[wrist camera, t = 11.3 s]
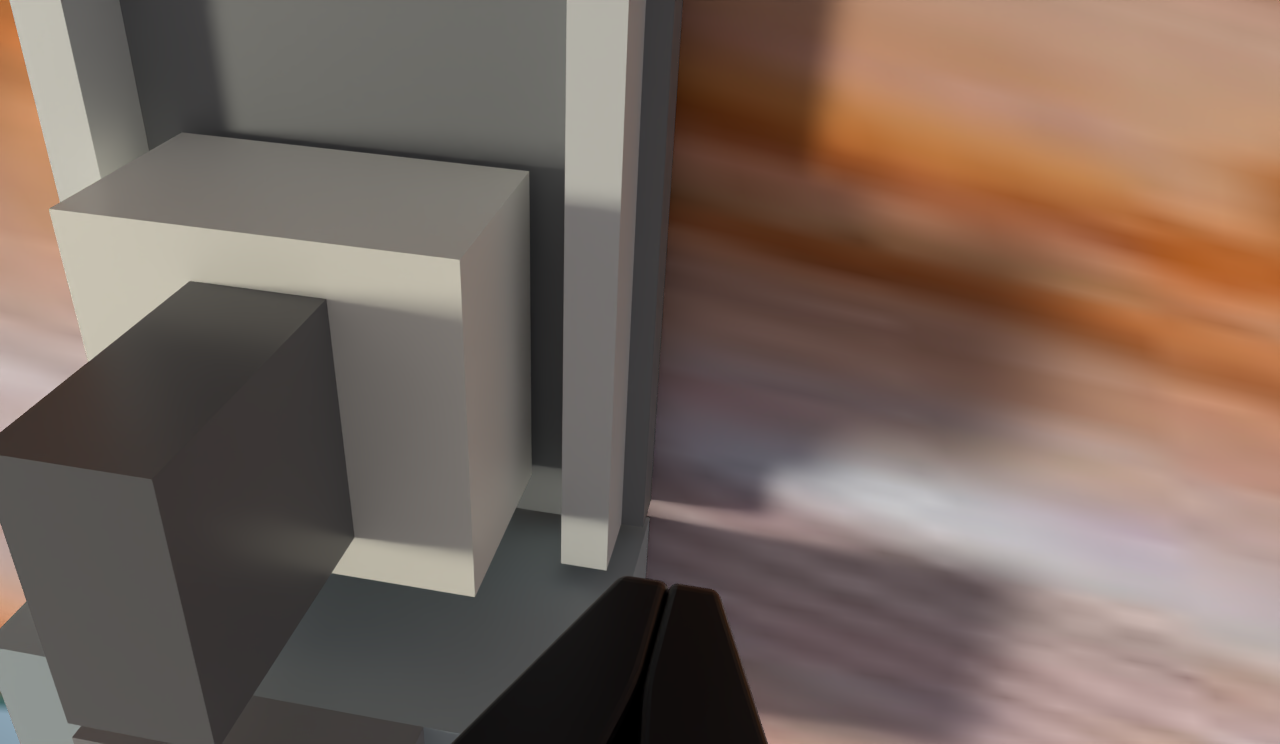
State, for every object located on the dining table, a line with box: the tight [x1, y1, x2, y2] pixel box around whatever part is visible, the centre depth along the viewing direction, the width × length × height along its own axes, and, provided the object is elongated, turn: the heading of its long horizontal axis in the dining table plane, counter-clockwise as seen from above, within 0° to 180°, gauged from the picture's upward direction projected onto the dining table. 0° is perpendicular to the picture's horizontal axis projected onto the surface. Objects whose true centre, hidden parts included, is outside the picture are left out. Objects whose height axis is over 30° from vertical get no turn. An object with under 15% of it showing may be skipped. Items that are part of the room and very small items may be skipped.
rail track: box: [10, 0, 683, 571], centre depth 19 cm, size 12×20×3 cm, turn 178°
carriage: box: [0, 132, 532, 744], centre depth 18 cm, size 7×7×9 cm
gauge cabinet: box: [0, 508, 650, 744], centre depth 24 cm, size 12×6×9 cm, turn 88°
